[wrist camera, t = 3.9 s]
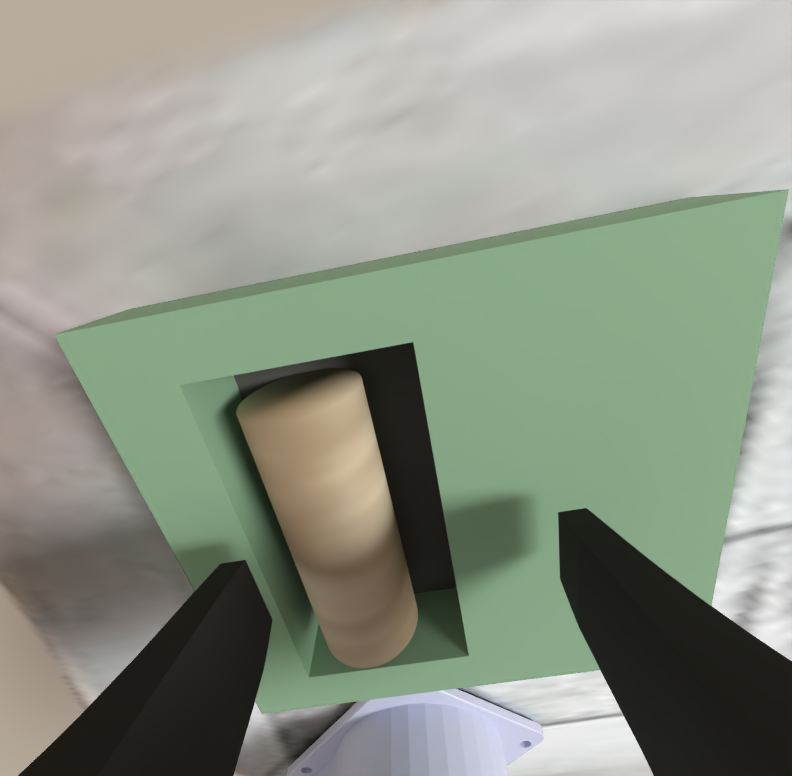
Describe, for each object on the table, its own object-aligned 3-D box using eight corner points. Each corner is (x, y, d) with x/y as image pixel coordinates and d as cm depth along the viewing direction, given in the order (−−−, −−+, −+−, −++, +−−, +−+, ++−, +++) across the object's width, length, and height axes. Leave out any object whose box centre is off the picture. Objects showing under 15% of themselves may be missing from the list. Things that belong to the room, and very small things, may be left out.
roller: (335, 582, 14) (417, 574, 14) (314, 671, 11) (417, 664, 11) (263, 378, 11) (368, 360, 11) (212, 433, 8) (351, 412, 8)
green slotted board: (689, 197, 9) (788, 189, 7) (651, 586, 14) (701, 656, 12) (131, 308, 10) (54, 334, 8) (281, 638, 15) (262, 713, 13)
